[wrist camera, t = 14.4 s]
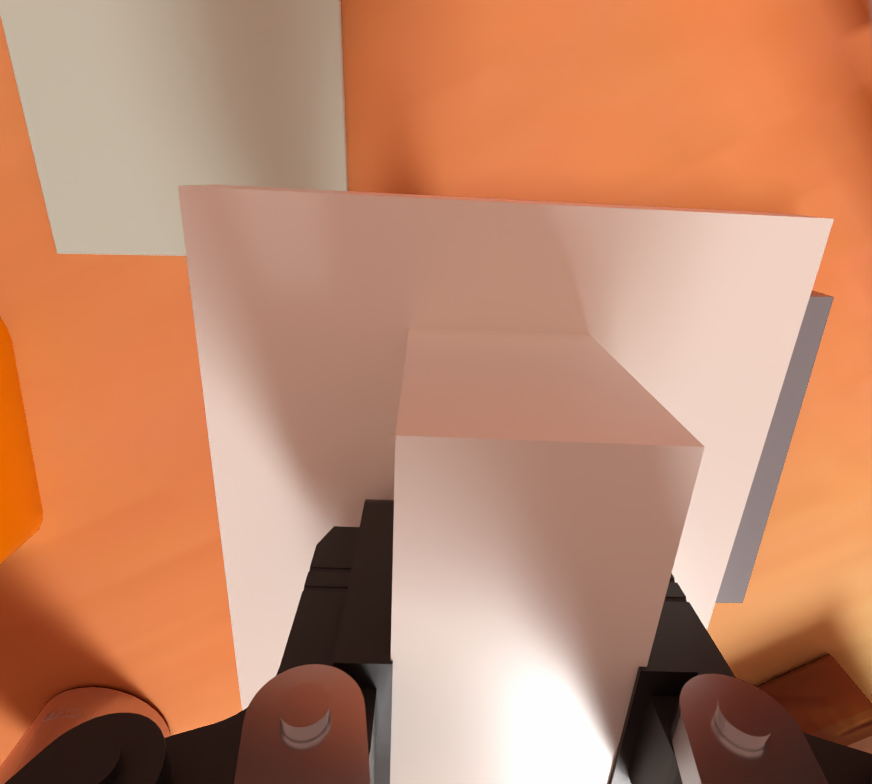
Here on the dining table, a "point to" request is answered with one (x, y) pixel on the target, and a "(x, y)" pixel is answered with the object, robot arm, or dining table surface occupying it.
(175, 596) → the dining table surface
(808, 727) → the diary
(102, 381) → the dining table surface
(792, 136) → the dining table surface
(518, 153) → the dining table surface
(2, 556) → the element tile
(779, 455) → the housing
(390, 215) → the cover
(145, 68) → the mat
